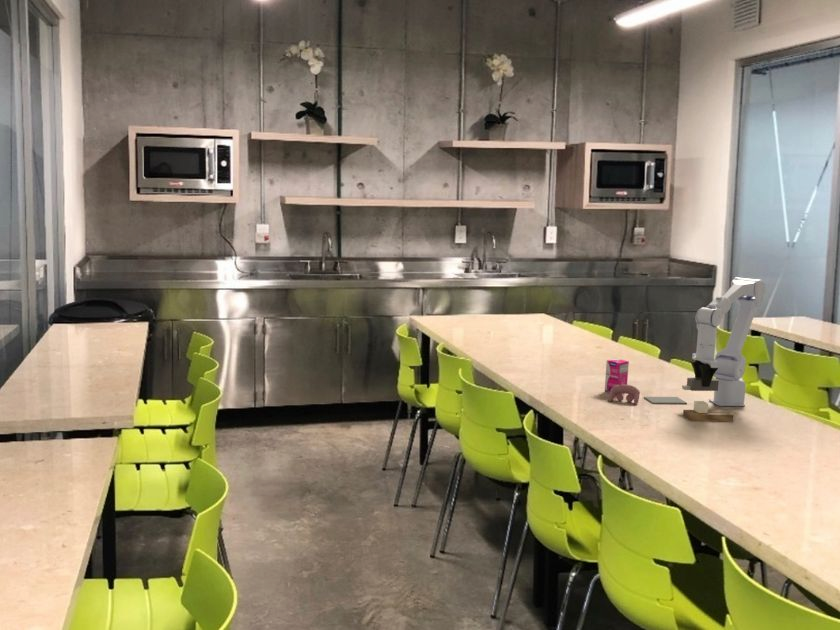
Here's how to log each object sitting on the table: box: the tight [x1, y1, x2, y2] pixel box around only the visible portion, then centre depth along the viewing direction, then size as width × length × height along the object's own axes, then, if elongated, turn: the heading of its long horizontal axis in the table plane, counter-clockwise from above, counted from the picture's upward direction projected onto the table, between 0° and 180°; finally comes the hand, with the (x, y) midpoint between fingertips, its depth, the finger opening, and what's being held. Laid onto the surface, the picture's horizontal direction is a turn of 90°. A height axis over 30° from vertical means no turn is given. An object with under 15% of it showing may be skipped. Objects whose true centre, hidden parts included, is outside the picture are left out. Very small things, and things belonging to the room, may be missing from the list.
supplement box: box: [604, 358, 630, 393], centre depth 300 cm, size 6×6×12 cm
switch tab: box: [693, 400, 709, 413], centre depth 268 cm, size 3×4×3 cm
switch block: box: [682, 409, 734, 422], centre depth 268 cm, size 14×6×2 cm, turn 97°
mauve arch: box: [608, 384, 641, 406], centre depth 286 cm, size 10×5×7 cm, turn 66°
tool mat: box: [643, 396, 688, 405], centre depth 289 cm, size 12×8×1 cm, turn 97°
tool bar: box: [681, 377, 719, 392], centre depth 278 cm, size 11×4×4 cm, turn 97°
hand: (702, 384), depth 278 cm, fingers closed on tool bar, 4 cm apart
